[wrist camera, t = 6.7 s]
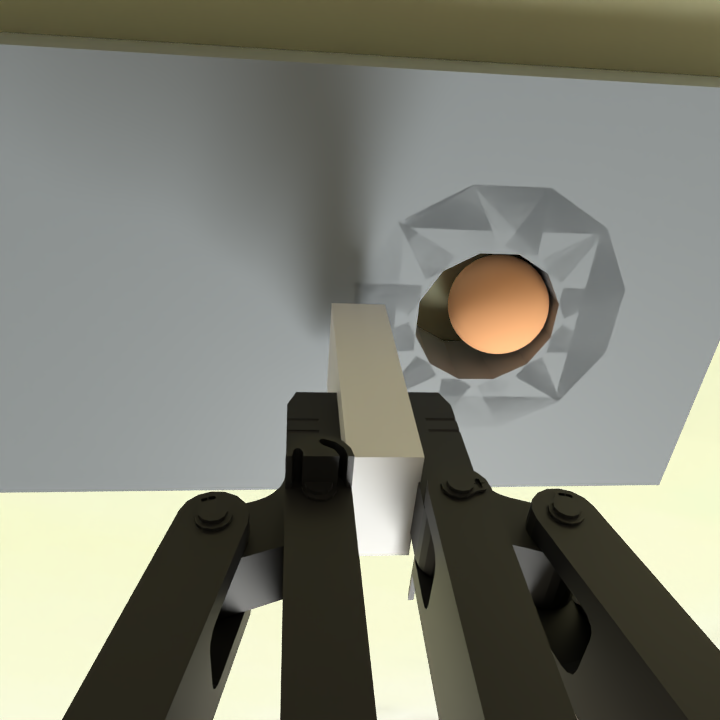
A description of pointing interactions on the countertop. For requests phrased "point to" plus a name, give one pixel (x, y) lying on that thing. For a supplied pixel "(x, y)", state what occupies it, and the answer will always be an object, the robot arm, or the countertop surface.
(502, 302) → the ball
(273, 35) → the countertop surface
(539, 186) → the plate
